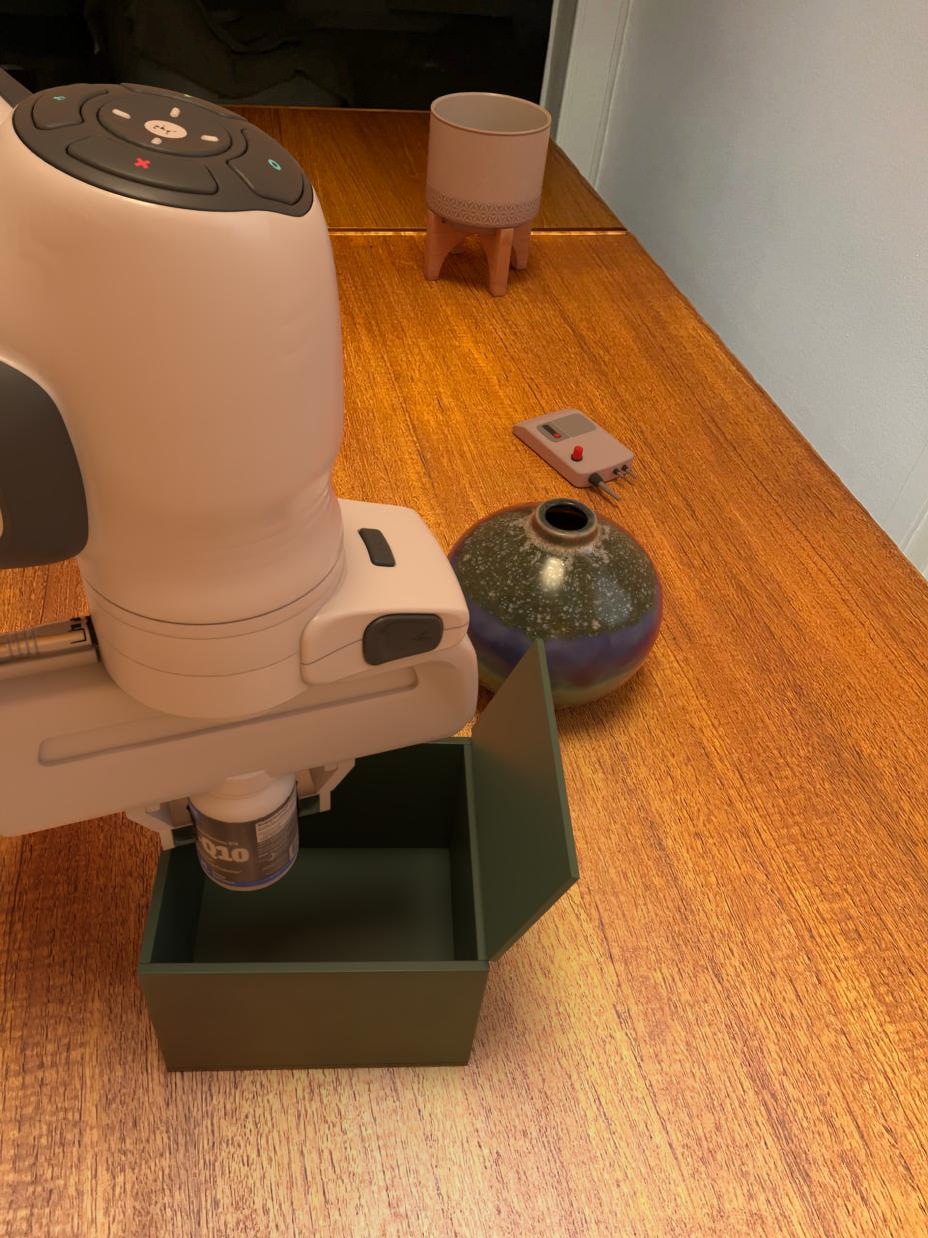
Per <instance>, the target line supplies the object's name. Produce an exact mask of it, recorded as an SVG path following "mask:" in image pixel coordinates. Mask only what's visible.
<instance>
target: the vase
mask: <svg viewBox="0 0 928 1238" xmlns="http://www.w3.org/2000/svg"><path fill="white" fill-rule="evenodd" d="M446 557H447V558H448V560H449V562H450V564H451V566H452V568H453V570H454V573H455V575H456V577H457V580H458V582H459V584H460V587H461V590H462V593H463V595H464V598H465V601H466V604H467V608H468V611H469V625H468V630H467V635H468V637H469V639H470V641H471V643H472V645H473V647H474V650H475V652H476V656H477V665H478V685H481V686H482V687H483V688H484V689H486V690H488V691H489V692H491V693H493V694H494V695H496V693H497V692H498V690H499V689H500V688H501V686H502V685H503V683H504V682H505V681H506V679H507V678H508V676H509V675H510V674H511V672H512V671H513V670H514V668H515V667H516V665H517V664H518V663H519V661H520V660H521V658H522V657H523V656H524V654H525V653H526V651H527V650H528V649H529V647H530V646H531V645H532V643H533V642H534V640H535V639H536V638H539V639H543V641H544V648H545V654H546V661H547V667H548V674H549V680H550V687H551V693H552V700H553V706H554V710H555V709H570V708H575V707H579V706H583V705H587V704H589V703H591V702H595V701H598V700H601V699H602V698H605V697H606V696H608V695H610V694H612V693H613V692H615V691H617V690H618V689H619V688H621V686H623V685H624V684H626V683H627V682H628V681H629V680H631V679H632V678H633V677H634V675H635V674H637V672H638V671H639V670H640V669H641V667H642V666H643V664H644V663H645V662H646V661H647V659H648V658H649V656H650V654H651V652H652V650H653V648H654V646H655V644H656V642H657V640H658V638H659V635H660V631H661V626H662V621H663V617H664V592H663V588H662V584H661V583H662V582H661V580H660V575H659V573H658V571H657V569H656V566H655V564H654V562H653V559H652V558H651V556H650V555H649V553H648V552H647V551H646V549H645V548H644V546H643V545H642V543H640V542H639V540H638V539H637V538H636V537H635V536H634V535H633V534H631V532H629V531H628V530H627V529H625V527H623V526H622V525H621V524H620V523H618V522H616V521H615V520H613V519H611V518H610V517H608V516H606V515H604V514H602V513H600V512H598V511H595V510H593V509H592V508H591V507H590V506H589V505H587V504H586V503H584V502H582V501H580V500H577V499H573V498H569V497H553V498H550V499H547V500H541V501H526V502H520V503H515V504H512V505H508V506H505V507H502V508H500V509H497V510H494V511H491V512H490V513H488V514H487V515H485V516H483V517H481V518H480V519H479V520H477V521H476V522H474V523H473V524H472V525H470V527H468V528H467V529H466V530H465V531H464V532H463V533H462V534H461V535H460V536H459V537H458V538H457V540H456V541H455V542H454V543H453V545H452V546H451V548H450V550H449V552H448V554H447V555H446Z"/></svg>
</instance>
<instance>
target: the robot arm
mask: <svg viewBox="0 0 928 1238" xmlns="http://www.w3.org/2000/svg"><path fill="white" fill-rule="evenodd" d="M337 278H338V277H337V271H336V263H335V258H334V253H333V246H332V241H331V238H330V233H329V228H328V224H327V222H326V218H325V215H324V212H323V208H322V205H321V202H320V200H319V197H318V195H317V192H316V190H315V187H314V185H313V184H312V182H311V180H310V178H309V177H308V175H307V173H306V172H305V170H304V168H303V167H302V166H301V165H300V163H299V162H298V160H297V159H296V158H295V157H294V156H293V155H292V154H291V153H290V152H289V151H288V150H287V149H286V147H284V146H283V145H282V144H281V143H280V142H278V141H277V140H276V139H274V138H273V137H272V136H270V135H269V134H268V133H266V132H265V131H263V130H262V129H261V128H259V127H258V126H256V125H254V124H252V123H251V122H249V121H248V119H247V118H245V117H244V116H242V115H240V114H238V113H236V112H234V111H232V110H230V109H228V108H225V107H223V106H220V105H218V104H215V103H213V102H210V101H208V100H205V99H203V98H199V97H196V96H192V95H189V94H186V93H182V92H178V91H175V90H170V89H166V88H162V87H156V86H152V85H151V86H150V85H144V84H138V83H137V84H136V83H128V82H121V83H119V84H116V83H115V84H113V83H85V82H84V83H82V82H81V83H73V84H68V85H61V86H55V87H51V88H46V89H43V90H39V91H37V92H35V93H33V92H32V91H30V90H29V89H28V88H26V87H25V86H24V85H22V84H21V82H19V81H17V80H16V79H15V78H14V77H13V76H12V75H11V74H10V73H8V72H7V71H5V70H4V69H3V68H2V67H1V66H0V571H5V570H6V571H7V570H15V569H24V568H25V569H26V568H32V567H33V568H35V567H42V566H48V565H53V564H58V563H61V562H65V561H68V560H70V559H73V558H75V559H76V562H77V566H78V569H79V570H78V571H79V574H80V578H81V582H82V586H83V590H84V594H85V598H86V602H87V605H88V610H89V615H82V616H76V617H75V616H74V617H70V618H63V619H59V620H58V619H57V620H52V621H47V622H43V623H38V624H34V626H33V625H31V626H27V627H25V628H20V629H18V630H16V629H15V630H11V631H9V632H8V631H3V632H0V837H3V838H14V837H19V836H24V835H28V834H32V833H37V832H42V831H45V830H50V829H54V828H59V827H63V826H66V825H67V826H68V825H72V824H76V823H80V822H85V821H89V820H93V819H97V818H102V817H106V816H111V815H115V814H119V813H125V816H126V819H127V820H130V821H132V822H134V823H136V824H138V825H140V826H142V827H144V828H146V829H148V830H150V831H152V832H155V833H158V835H159V839H160V843H161V845H162V847H163V850H168V849H172V848H175V847H178V846H182V845H186V844H190V843H193V842H197V841H196V835H195V830H194V825H193V820H192V815H191V811H190V808H189V803H188V798H187V797H189V796H194V795H198V794H202V793H207V792H211V791H215V790H219V789H221V787H222V786H223V784H224V783H225V780H226V779H227V778H230V777H234V776H238V775H243V774H247V773H252V772H257V771H262V770H263V771H265V773H266V774H268V775H269V776H270V777H276V776H281V775H285V774H289V773H294V772H296V795H297V812H298V815H299V817H301V816H305V815H310V814H314V813H319V812H323V811H327V810H330V791H331V790H333V789H334V788H335V787H336V786H337V785H338V784H339V783H340V781H341V780H342V779H343V778H344V777H345V776H346V775H347V774H348V772H349V771H350V770H351V769H352V768H353V767H354V766H355V758H359V757H363V756H368V755H372V754H376V753H381V752H385V751H389V750H394V749H398V748H402V747H407V746H411V745H415V744H420V743H424V742H428V741H433V740H438V739H443V738H447V737H454V736H455V735H457V734H458V733H459V732H461V731H462V729H464V728H465V727H466V726H467V725H468V724H469V723H470V722H471V721H472V720H473V719H474V717H475V715H476V710H477V707H478V698H479V697H478V695H479V683H478V665H477V656H476V652H475V650H474V647H473V645H472V643H471V641H470V639H469V637H468V635H467V630H468V625H469V611H468V608H467V604H466V601H465V598H464V595H463V593H462V590H461V587H460V584H459V582H458V580H457V577H456V575H455V573H454V570H453V568H452V566H451V564H450V562H449V560H448V558H447V555H446V553H445V551H444V549H443V547H442V546H441V544H440V543H439V541H438V539H437V537H436V536H435V534H434V533H433V531H432V529H430V528H429V526H428V524H427V523H426V521H425V520H424V519H423V518H422V516H421V515H420V514H419V512H418V511H416V510H414V509H413V508H410V507H408V506H402V505H397V504H387V503H378V502H370V501H369V502H368V501H363V500H355V499H347V498H342V497H338V496H337V495H336V492H335V488H334V485H333V470H334V467H335V463H336V460H337V458H338V455H339V453H340V450H341V446H342V442H343V439H344V426H345V376H344V375H345V374H344V373H345V372H344V352H343V350H344V349H343V334H342V332H343V331H342V320H341V318H342V317H341V307H340V295H339V286H338V279H337Z"/></svg>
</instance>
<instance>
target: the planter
mask: <svg viewBox="0 0 928 1238" xmlns="http://www.w3.org/2000/svg"><path fill="white" fill-rule="evenodd" d="M429 113H430V114H429V115H430V116H429V130H428V131H429V133H428V151H427V165H426V166H427V167H426V185H425V203H426V205H427V207H428V208H427V210H426V211H427V213H426V215H427V216H426V226H425V227H426V228H425V229H426V231H425V245H424V261H423V276H424V278H425V279H426V280H427V281H429V282H430V281H437V280H438V281H439V277H440V272H441V268H442V266H443V263H444V262H445V259H446V257H447V256H448V254H449V253H450V254H451V255H455V254H463V253H464V246H465V241H466V239H468V238H470V237H472V236H476V235H477V237H478V239H479V240H480V242H481V244H482V246H483V249H484V252H485V255H486V259H487V265H488V273H489V290H488V291H489V294H491V295H492V297H502V296H503V297H504V296H506V294H507V286H508V278H509V269H510V261H511V266H512V267H513V268H515V269H516V270H525V269H527V266H528V265H527V264H528V259H529V257H528V256H529V249H530V243H531V234H532V227H533V221H534V219H536V217H537V216H538V215H539V213H540V205H541V200H542V199H541V198H542V191H543V183H544V177H545V170H546V162H547V155H548V148H549V141H550V135H551V133H550V132H551V126H552V121H553V119H552V116H551V114H550V112H549V110H547V109H546V108H544V107H543V106H541V105H539V104H537V103H534V102H532V101H529V100H528V99H527V100H526V99H524V98H520V97H516V96H511V95H507V94H500V93H493V92H482V91H481V92H479V91H469V92H467V91H465V92H456V93H450V94H446V95H443V96H439V97H437V98H435V100H433V101H432V102H431V104H430V112H429Z"/></svg>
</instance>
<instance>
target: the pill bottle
mask: <svg viewBox="0 0 928 1238" xmlns="http://www.w3.org/2000/svg"><path fill="white" fill-rule="evenodd" d="M187 798H188V803H189V808H190V811H191V815H192V820H193V825H194V830H195V835H196V841H197V842H196V847H197V854H198V858H199V861H200V864H201V866H202V868H203V870H204V871H205V873H206V874H207V875H208V876H209V877H210V878H211V879H212V880H213V881H214V882H216V883H217V884H219V885H221V886H223V887H225V888H227V889H230V890H235V891H252V890H257V889H261V888H265V887H267V886H269V885H271V884H273V883H274V882H276V881H277V880H279V879H280V878H281V877H282V876H284V875H285V874H286V873H287V872H288V870H289V869H290V868H291V867H292V865H293V863H294V861H295V859H296V857H297V853H298V847H299V835H298V815H297V814H298V813H297V795H296V772H294V773H289V774H285V775H281V776H276V777H270V776H269V775H268V774H266V773H265V771H263V770H262V771H257V772H252V773H247V774H243V775H238V776H234V777H230V778H227V779H226V780H225V783H224V784H223V786H222V787H221V789H219V790H215V791H211V792H207V793H202V794H198V795H194V796H189V797H187Z"/></svg>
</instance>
